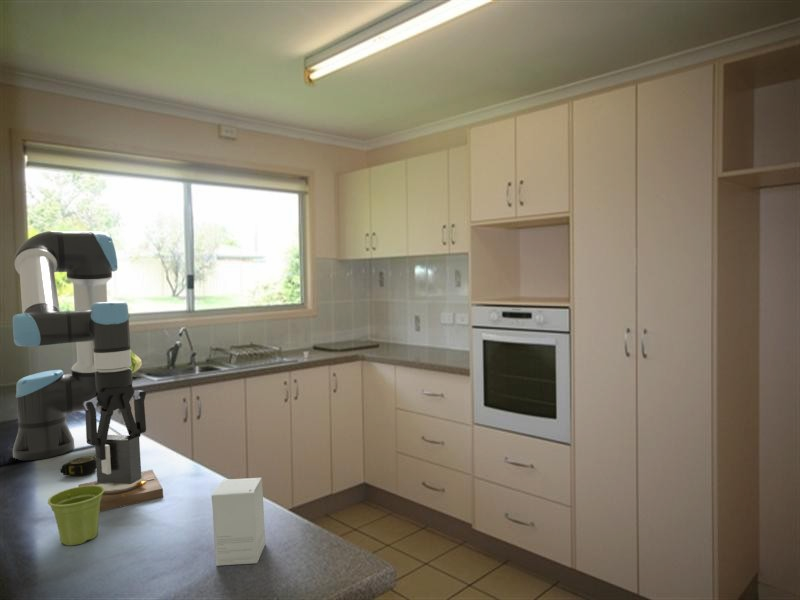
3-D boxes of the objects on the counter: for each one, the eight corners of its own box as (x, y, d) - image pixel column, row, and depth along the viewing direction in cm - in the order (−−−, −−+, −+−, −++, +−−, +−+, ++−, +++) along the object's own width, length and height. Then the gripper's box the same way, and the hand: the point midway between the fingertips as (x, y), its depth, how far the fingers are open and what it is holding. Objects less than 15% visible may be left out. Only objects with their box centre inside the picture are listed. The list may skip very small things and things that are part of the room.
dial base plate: (78, 492, 128) (78, 483, 128) (152, 477, 137) (152, 468, 137) (82, 515, 116) (81, 505, 115) (163, 497, 124) (162, 487, 124)
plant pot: (42, 554, 100) (39, 508, 99) (60, 531, 109) (57, 488, 108) (99, 546, 102) (96, 500, 102) (111, 524, 111) (109, 482, 111)
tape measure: (80, 468, 145) (79, 454, 145) (103, 469, 144) (102, 455, 144) (60, 478, 139) (59, 463, 139) (84, 479, 138) (83, 464, 137)
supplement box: (266, 543, 101) (263, 476, 101) (257, 564, 94) (254, 492, 93) (226, 545, 101) (223, 478, 100) (214, 566, 94) (210, 494, 93)
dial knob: (116, 476, 132) (114, 430, 131) (158, 478, 130) (156, 432, 129) (84, 492, 122) (81, 443, 122) (129, 495, 120) (126, 445, 119)
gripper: (143, 362, 134) (148, 454, 135) (63, 374, 120) (69, 478, 121) (159, 364, 130) (165, 460, 131) (78, 377, 115) (85, 485, 116)
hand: (119, 468), depth 126 cm, fingers closed on dial knob, 5 cm apart
